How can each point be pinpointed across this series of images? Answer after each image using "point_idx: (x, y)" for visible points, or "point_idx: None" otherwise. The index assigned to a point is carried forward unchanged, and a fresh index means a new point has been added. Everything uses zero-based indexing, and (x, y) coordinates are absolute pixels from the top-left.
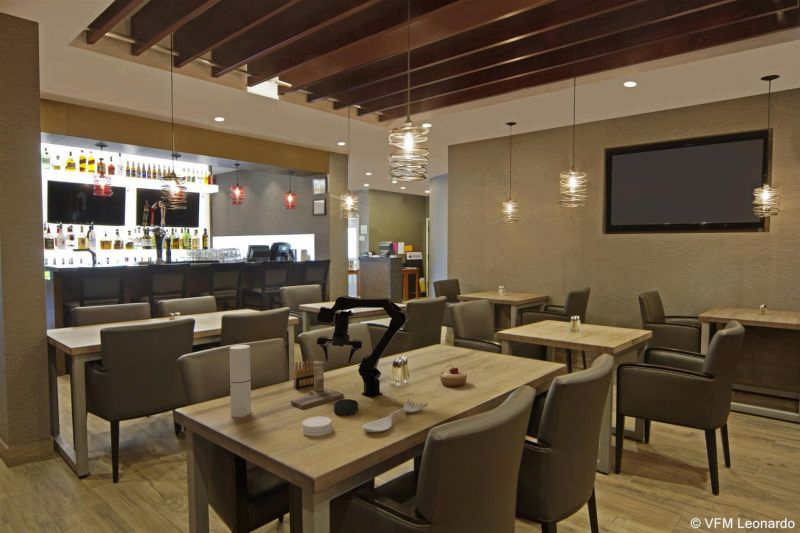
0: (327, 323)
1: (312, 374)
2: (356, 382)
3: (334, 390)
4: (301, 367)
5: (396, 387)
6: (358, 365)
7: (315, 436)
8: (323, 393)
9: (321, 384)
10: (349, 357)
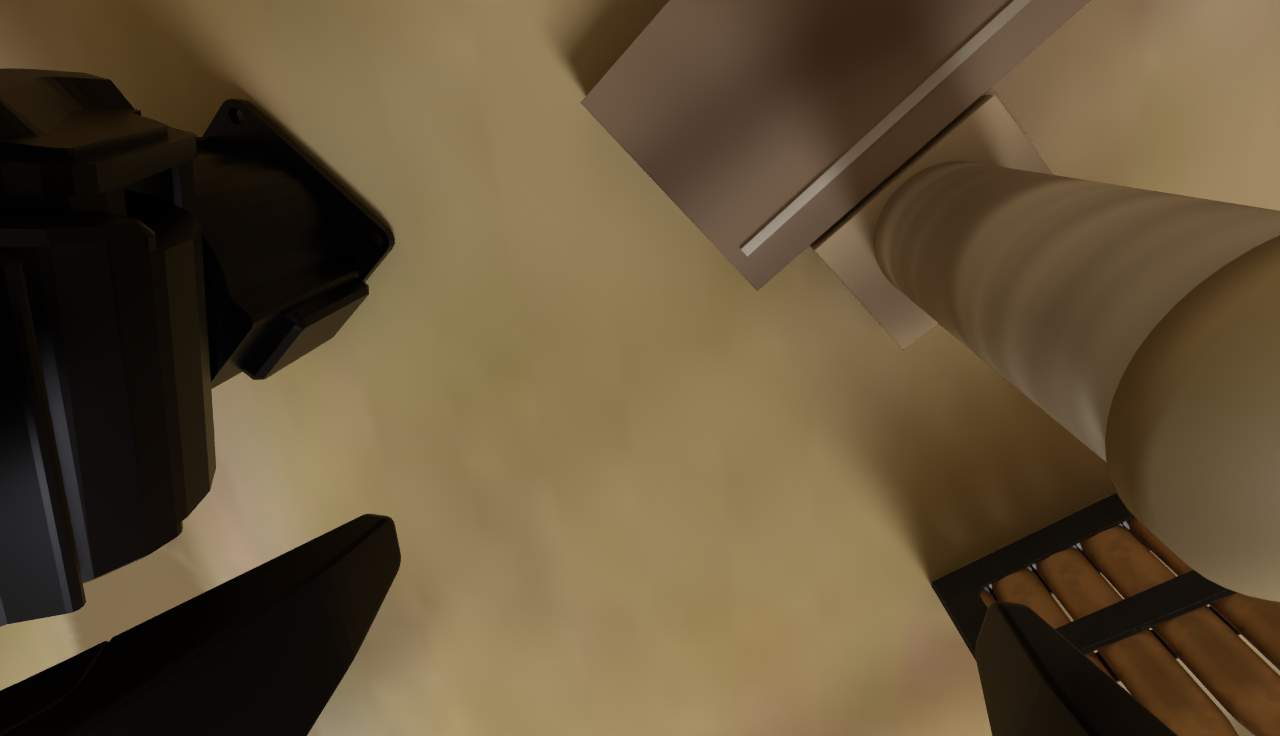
0: None
1: None
2: (535, 630)
3: (724, 255)
4: None
5: None
6: (11, 266)
7: None
8: (878, 113)
9: (952, 193)
10: (225, 624)
